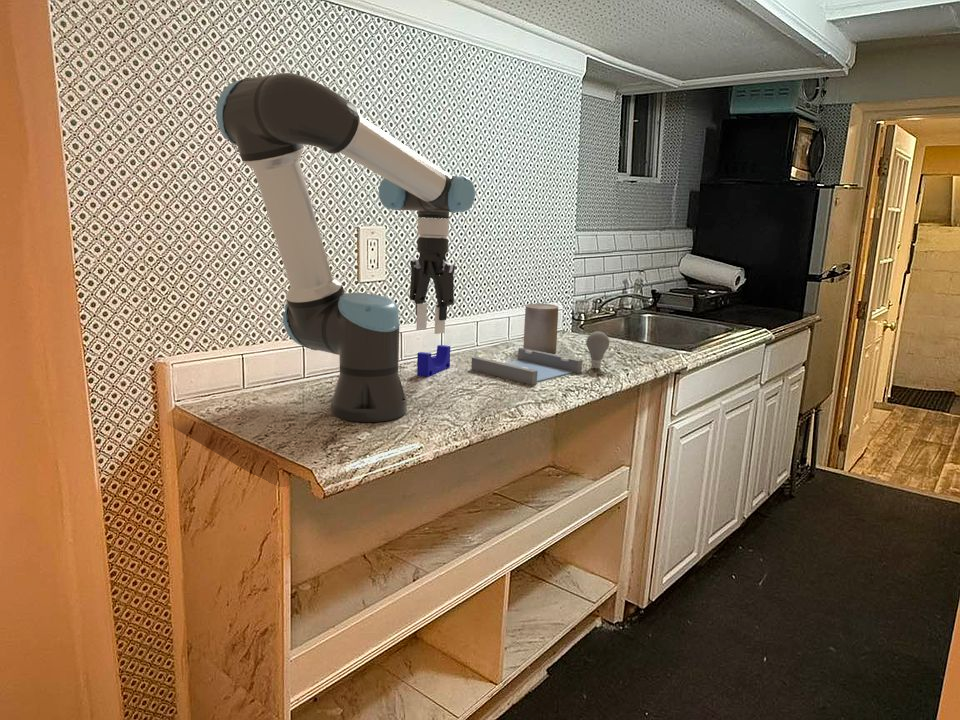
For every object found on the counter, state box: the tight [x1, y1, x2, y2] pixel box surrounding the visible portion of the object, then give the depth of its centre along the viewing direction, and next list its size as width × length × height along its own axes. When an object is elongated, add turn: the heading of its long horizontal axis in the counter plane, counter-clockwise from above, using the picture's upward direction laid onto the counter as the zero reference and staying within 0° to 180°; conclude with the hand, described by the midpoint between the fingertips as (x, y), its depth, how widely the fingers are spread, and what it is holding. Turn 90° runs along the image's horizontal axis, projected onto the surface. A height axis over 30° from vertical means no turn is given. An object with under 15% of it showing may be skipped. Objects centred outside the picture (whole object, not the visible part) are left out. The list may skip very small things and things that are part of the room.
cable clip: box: [416, 344, 451, 378], centre depth 172 cm, size 12×4×6 cm, turn 156°
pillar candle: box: [522, 301, 559, 354], centre depth 199 cm, size 10×10×15 cm
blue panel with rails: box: [470, 347, 583, 386], centre depth 176 cm, size 21×20×3 cm
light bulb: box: [585, 330, 610, 370], centre depth 181 cm, size 6×6×10 cm
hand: (430, 331), depth 169 cm, fingers open, 6 cm apart
